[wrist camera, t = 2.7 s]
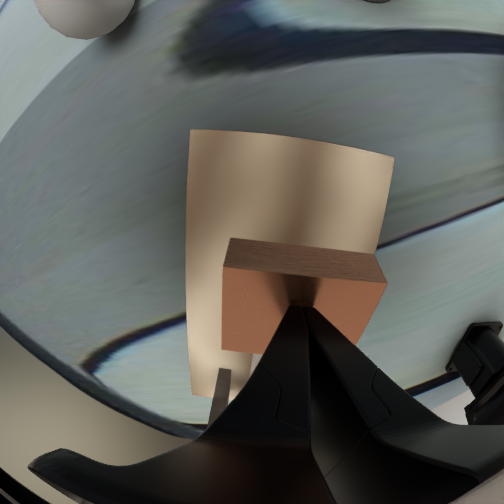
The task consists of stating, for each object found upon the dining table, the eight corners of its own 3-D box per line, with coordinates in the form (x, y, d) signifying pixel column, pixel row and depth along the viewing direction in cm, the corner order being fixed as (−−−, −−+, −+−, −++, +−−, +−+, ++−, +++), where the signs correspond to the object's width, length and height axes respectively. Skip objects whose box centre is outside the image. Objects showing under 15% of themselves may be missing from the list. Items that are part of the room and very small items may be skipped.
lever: (369, 244, 9) (389, 287, 7) (288, 419, 19) (287, 445, 17) (232, 228, 10) (221, 271, 8) (225, 414, 19) (222, 440, 17)
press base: (384, 155, 15) (453, 170, 8) (317, 394, 24) (325, 458, 17) (197, 130, 15) (147, 123, 9) (195, 383, 24) (178, 446, 17)
